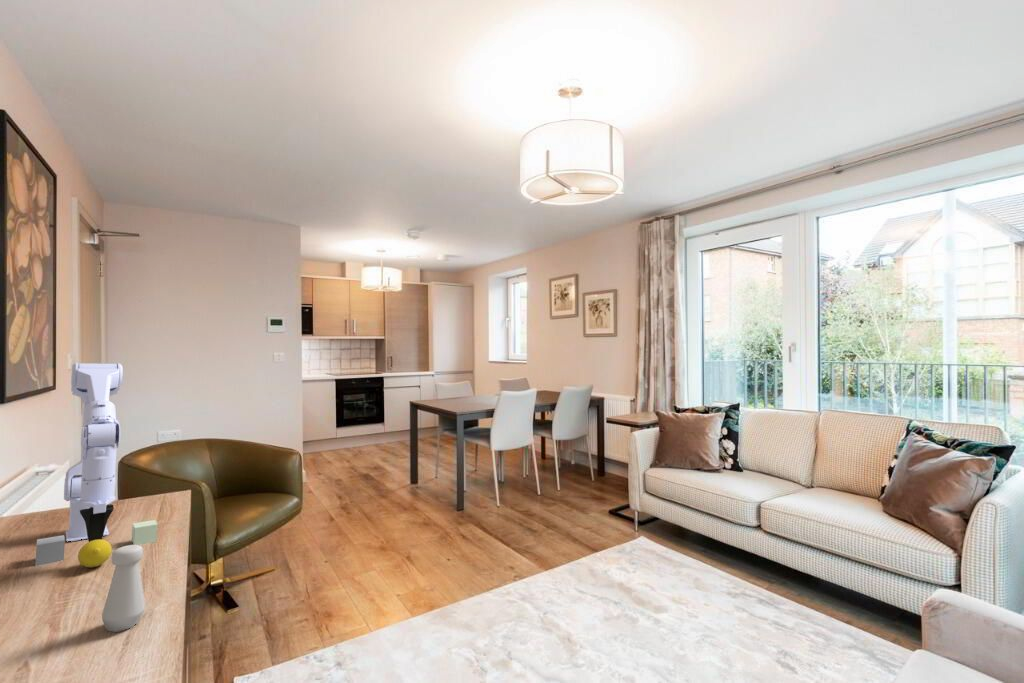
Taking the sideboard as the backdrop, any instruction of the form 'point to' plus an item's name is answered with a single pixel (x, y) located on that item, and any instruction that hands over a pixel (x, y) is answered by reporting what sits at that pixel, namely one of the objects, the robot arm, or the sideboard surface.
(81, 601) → the sideboard surface
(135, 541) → the sage block
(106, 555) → the lemon
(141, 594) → the salt shaker
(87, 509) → the robot arm
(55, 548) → the slate block
